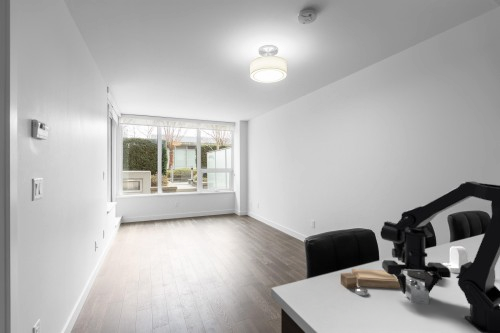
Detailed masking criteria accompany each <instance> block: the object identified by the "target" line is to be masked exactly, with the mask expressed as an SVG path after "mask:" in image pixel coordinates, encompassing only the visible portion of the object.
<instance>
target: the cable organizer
mask: <svg viewBox="0 0 500 333" xmlns="http://www.w3.org/2000/svg"><path fill="white" fill-rule="evenodd" d="M468 257H469V255H468V251H467V249H466V248H465V247H464V246H459V245H458V246H453V245H452V246H451V247H450V248H449V262H448V263H447V262H443V263H442V265H444V266H446V267H447V268H448V269H449V270H450V272H451V274H459V273H460V268H461V265H464V264H466V263H468V262H469V260H468V259H469V258H468Z"/></svg>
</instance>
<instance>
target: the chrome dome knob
mask: <svg viewBox="0 0 500 333" xmlns="http://www.w3.org/2000/svg"><path fill="white" fill-rule="evenodd" d="M368 292H369V291H368V289H367V288H365V287H364V286H357V287H356V288H354V293H355V294H356V295H358V296H361V297H366V296H368Z"/></svg>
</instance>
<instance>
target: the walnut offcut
mask: <svg viewBox="0 0 500 333" xmlns="http://www.w3.org/2000/svg"><path fill="white" fill-rule="evenodd" d="M340 285H341V286H343V287H344V288H345V289H347V290H348V289H355V288H356V287H358V284H357V277H356V276H354V275H353V274H352V272H341V273H340Z"/></svg>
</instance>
